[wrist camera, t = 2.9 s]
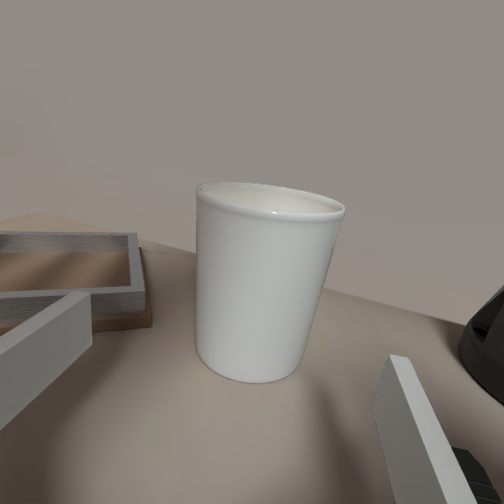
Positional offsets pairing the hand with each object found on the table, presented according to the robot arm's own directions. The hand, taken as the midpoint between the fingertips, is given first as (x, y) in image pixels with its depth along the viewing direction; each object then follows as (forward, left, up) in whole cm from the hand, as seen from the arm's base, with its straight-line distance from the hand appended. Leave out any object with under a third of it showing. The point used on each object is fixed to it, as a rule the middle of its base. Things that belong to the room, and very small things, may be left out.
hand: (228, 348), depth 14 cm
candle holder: (-5, -8, -7) cm, 12 cm away
